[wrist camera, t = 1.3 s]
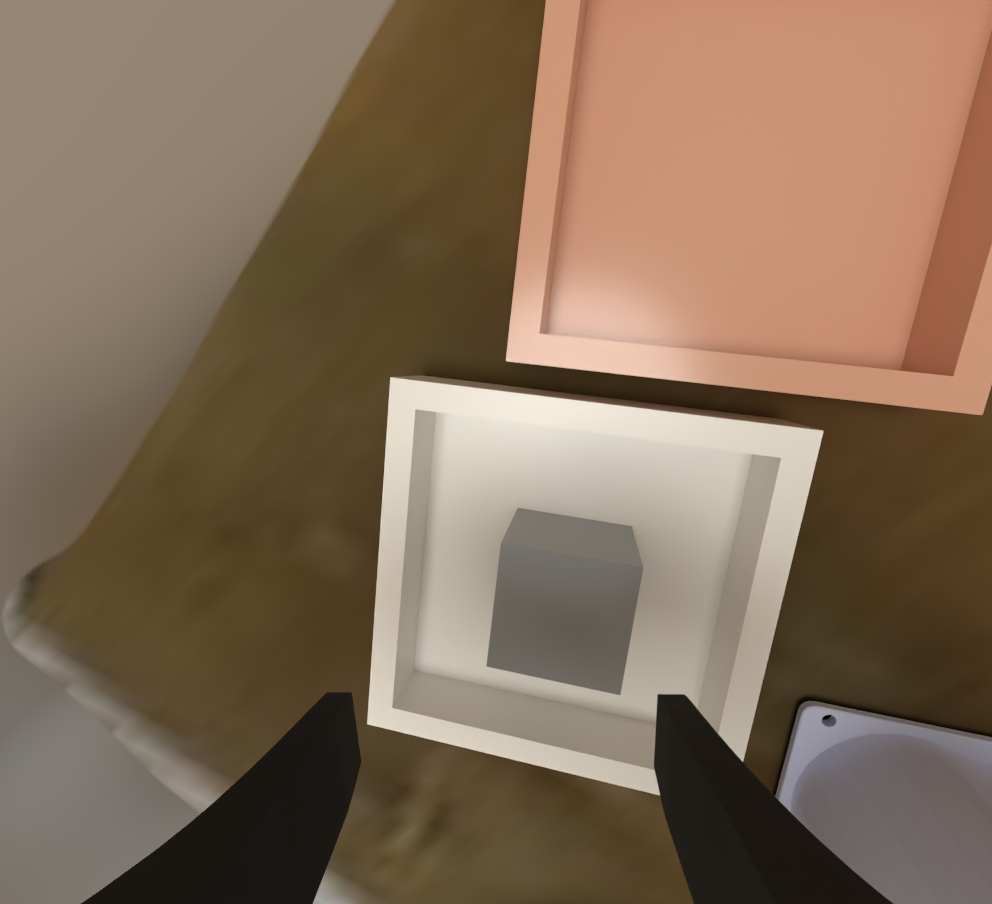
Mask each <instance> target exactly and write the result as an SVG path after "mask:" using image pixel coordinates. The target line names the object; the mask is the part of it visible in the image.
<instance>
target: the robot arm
mask: <svg viewBox="0 0 992 904" xmlns="http://www.w3.org/2000/svg"><path fill="white" fill-rule="evenodd" d="M826 715H831V717H830V718H829V719H827V720H822V718H823V717H824V716H826ZM360 764H361V757H360V750H359V743H358V735H357V728H356V721H355V714H354V706H353V699H352V693H326V694H325V695H324V696H323V697H322V698H321V699H320V700H319V701H318V702H317V703H316V704H315V705H314V706H313V707H312V708H311V709H310V710H309V711H308V712H307V713H306V714H305V715H304V716H303V717H302V718H301V719H300V720H299V721H298V722H297V723H296V724H295V725H294V726H293V727H292V728H291V729H290V730H289V731H288V732H287V733H286V734H285V735H284V736H283V737H282V738H281V739H280V741H278V742H277V743H276V744H275V745H274V746H273V747H272V748H271V749H270V750H269V751H268V752H267V753H266V754H265V755H264V756H263V757H262V758H261V759H260V760H259V761H258V762H257V763H256V764H255V765H254V766H253V767H252V768H251V769H250V770H249V771H248V772H247V773H246V774H245V775H243V776H242V777H241V778H240V779H239V780H238V781H237V782H236V783H235V784H234V785H233V786H231V787H230V788H229V789H228V790H227V791H226V792H225V793H224V794H223V795H222V796H221V797H219V798H218V799H217V800H216V801H215V802H214V803H213V804H212V805H211V806H209V807H208V808H207V809H206V810H205V811H204V812H202V813H201V814H200V815H199V816H198V817H196V818H195V819H194V820H193V821H192V822H191V823H189V824H188V825H187V826H186V827H184V828H183V829H182V830H181V831H179V832H178V833H177V834H176V835H174V836H173V837H172V838H171V839H169V840H168V841H167V842H166V843H164V844H163V845H162V846H161V847H159V848H158V849H157V850H155V851H154V852H153V853H151V854H150V855H149V856H147V857H146V858H144V859H143V860H142V861H140V862H139V863H138V864H136V865H135V866H133V867H132V868H131V869H130V870H128V871H127V872H125V873H124V874H122V875H121V876H120V877H118V878H117V879H115V880H114V881H113V882H111V883H110V884H109V885H107V886H106V887H105V888H103V889H102V890H100V891H99V892H98V893H96V894H95V895H93V896H92V897H90V898H89V899H87V900H86V901H84V902H83V903H81V904H313V901H314V899H315V896H316V893H317V891H318V888H319V886H320V883H321V880H322V878H323V875H324V873H325V870H326V867H327V865H328V862H329V860H330V857H331V855H332V852H333V849H334V847H335V844H336V841H337V839H338V836H339V833H340V831H341V828H342V826H343V823H344V820H345V818H346V815H347V812H348V809H349V806H350V802H351V798H352V795H353V791H354V788H355V784H356V780H357V776H358V772H359V768H360ZM654 769H655V774H656V778H657V783H658V787H659V792H660V796H661V800H662V805H663V809H664V813H665V817H666V820H667V823H668V827H669V830H670V833H671V836H672V839H673V842H674V845H675V848H676V851H677V854H678V857H679V860H680V863H681V866H682V869H683V872H684V875H685V878H686V881H687V884H688V887H689V890H690V893H691V896H692V899H693V902H694V904H992V737H988V736H983V735H978V734H973V733H968V732H963V731H958V730H953V729H948V728H944V727H939V726H934V725H929V724H924V723H919V722H914V721H909V720H904V719H900V718H895V717H890V716H885V715H880V714H875V713H870V712H865V711H860V710H856V709H851V708H846V707H841V706H836V705H831V704H826V703H821V702H816V701H807V702H804V703H803V704H801V705H800V707H799V709H798V712H797V715H796V719H795V723H794V727H793V731H792V735H791V738H790V742H789V746H788V750H787V754H786V757H785V761H784V765H783V769H782V773H781V776H780V780H779V784H778V788H777V792H776V795H775V796H774V795H773V794H772V793H771V792H770V791H769V790H768V789H767V788H766V787H765V786H764V785H763V783H762V782H761V781H760V780H759V779H758V778H757V777H756V776H755V775H754V774H753V773H752V771H751V770H750V769H749V768H748V767H747V766H746V765H745V764H744V763H743V762H742V761H741V759H740V758H739V757H738V756H737V755H736V754H735V753H734V752H733V750H732V749H731V748H730V747H729V746H728V745H727V744H726V742H725V741H724V740H723V739H722V738H721V737H720V735H719V734H718V733H717V732H716V731H715V730H714V728H713V727H712V726H711V725H710V724H709V722H708V721H707V720H706V719H705V718H704V716H703V715H702V714H701V713H700V711H699V710H698V709H697V708H696V707H695V705H694V704H693V703H692V702H691V700H690V699H689V698H688V697H687V696H686V695H685V694H658V695H657V714H656V733H655V752H654Z"/></svg>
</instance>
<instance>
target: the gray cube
mask: <svg viewBox="0 0 992 904" xmlns="http://www.w3.org/2000/svg"><path fill="white" fill-rule="evenodd" d="M642 572H643V564H642V561H641V557H640V554H639V550H638V547H637V543H636V540H635V536H634V532H633V529H632V526H627V525H621V524H615V523H608V522H602V521H596V520H590V519H584V518H577V517H571V516H565V515H559V514H553V513H546V512H540V511H534V510H528V509H522V508H518V509H517V511H516V513H515V515H514V517H513V519H512V521H511V523H510V525H509V527H508V529H507V531H506V533H505V535H504V538H503V540H502V542H501V546H500V555H499V563H498V572H497V580H496V589H495V597H494V606H493V614H492V622H491V631H490V639H489V648H488V656H487V665H486V667H491V668H495V669H500V670H505V671H509V672H514V673H519V674H523V675H528V676H533V677H537V678H542V679H547V680H551V681H556V682H560V683H565V684H570V685H574V686H579V687H584V688H588V689H593V690H598V691H602V692H607V693H612V694H616V695H620V694H621V689H622V683H623V678H624V672H625V667H626V661H627V656H628V650H629V644H630V639H631V633H632V628H633V622H634V617H635V611H636V606H637V600H638V595H639V589H640V583H641V578H642Z"/></svg>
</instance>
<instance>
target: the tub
mask: <svg viewBox="0 0 992 904" xmlns="http://www.w3.org/2000/svg"><path fill="white" fill-rule="evenodd" d="M822 435H823V430H819V429H815V428H812V427H808V426H804V425H801V424H797V423H793V422H790V421H786V420H783V419H778V418H770V417H762V416H753V415H745V414H737V413H729V412H721V411H712V410H704V409H696V408H688V407H679V406H671V405H663V404H655V403H646V402H638V401H630V400H622V399H613V398H605V397H597V396H589V395H580V394H572V393H564V392H556V391H547V390H539V389H531V388H523V387H515V386H506V385H498V384H490V383H482V382H473V381H465V380H457V379H449V378H440V377H432V376H424V375H421V376H404V377H390V392H389V407H388V422H387V437H386V451H385V466H384V481H383V496H382V511H381V526H380V541H379V556H378V571H377V586H376V601H375V616H374V631H373V646H372V661H371V676H370V691H369V706H368V721H367V724H369V725H373V726H377V727H382V728H386V729H390V730H394V731H398V732H402V733H406V734H410V735H414V736H418V737H423V738H427V739H431V740H435V741H439V742H443V743H447V744H451V745H455V746H459V747H464V748H468V749H472V750H476V751H480V752H484V753H488V754H492V755H496V756H500V757H505V758H509V759H513V760H517V761H521V762H525V763H529V764H533V765H537V766H541V767H546V768H550V769H554V770H558V771H562V772H566V773H570V774H574V775H578V776H582V777H587V778H591V779H595V780H599V781H603V782H607V783H611V784H615V785H619V786H623V787H627V788H632V789H636V790H640V791H644V792H648V793H652V794H656V795H660V792H659V787H658V783H657V778H656V774H655V769H654V752H655V733H656V714H657V695H658V694H685V695H686V696H687V697H688V698H689V699H690V700H691V702H692V703H693V704H694V705H695V707H696V708H697V709H698V710H699V711H700V713H701V714H702V715H703V716H704V718H705V719H706V720H707V721H708V722H709V724H710V725H711V726H712V727H713V728H714V730H715V731H716V732H717V733H718V734H719V735H720V737H721V738H722V739H723V740H724V741H725V742H726V744H727V745H728V746H729V747H730V748H731V749H732V750H733V752H734V753H735V754H736V755H737V756H738V757H739V758H740V759H741V761H742V762H743V760H744V756H745V752H746V748H747V744H748V740H749V736H750V731H751V727H752V723H753V719H754V715H755V711H756V707H757V703H758V699H759V694H760V690H761V686H762V682H763V678H764V674H765V670H766V666H767V662H768V657H769V653H770V649H771V645H772V641H773V637H774V633H775V629H776V625H777V620H778V616H779V612H780V608H781V604H782V600H783V596H784V592H785V588H786V583H787V579H788V575H789V571H790V567H791V563H792V559H793V555H794V551H795V546H796V542H797V538H798V534H799V530H800V526H801V522H802V518H803V514H804V509H805V505H806V501H807V497H808V493H809V489H810V485H811V481H812V477H813V472H814V468H815V464H816V460H817V456H818V452H819V448H820V444H821V439H822ZM518 508H522V509H528V510H534V511H540V512H546V513H553V514H559V515H565V516H571V517H577V518H584V519H590V520H596V521H602V522H608V523H615V524H621V525H627V526H632V529H633V532H634V536H635V540H636V543H637V547H638V550H639V554H640V557H641V561H642V564H643V572H642V578H641V583H640V589H639V595H638V600H637V606H636V611H635V617H634V622H633V628H632V633H631V639H630V644H629V650H628V656H627V661H626V667H625V672H624V678H623V683H622V689H621V694H620V695H616V694H612V693H607V692H602V691H598V690H593V689H588V688H584V687H579V686H574V685H570V684H565V683H560V682H556V681H551V680H547V679H542V678H537V677H533V676H528V675H523V674H519V673H514V672H509V671H505V670H500V669H495V668H491V667H486V665H487V656H488V648H489V639H490V631H491V622H492V614H493V606H494V597H495V589H496V580H497V572H498V563H499V555H500V546H501V542H502V540H503V538H504V535H505V533H506V531H507V529H508V527H509V525H510V523H511V521H512V519H513V517H514V515H515V513H516V511H517V509H518Z"/></svg>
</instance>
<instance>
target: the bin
mask: <svg viewBox="0 0 992 904" xmlns="http://www.w3.org/2000/svg"><path fill="white" fill-rule="evenodd" d="M506 361H509V362H518V363H526V364H535V365H544V366H553V367H562V368H570V369H579V370H588V371H597V372H606V373H615V374H623V375H632V376H641V377H650V378H659V379H667V380H676V381H685V382H694V383H703V384H712V385H720V386H729V387H738V388H747V389H756V390H764V391H773V392H782V393H791V394H800V395H809V396H817V397H826V398H835V399H844V400H853V401H861V402H870V403H879V404H888V405H897V406H906V407H914V408H923V409H932V410H941V411H950V412H959V413H967V414H976V415H983V411H984V408H985V405H986V402H987V398H988V395H989V392H990V389H991V385H992V0H546V5H545V14H544V23H543V32H542V41H541V50H540V59H539V68H538V77H537V86H536V94H535V103H534V112H533V121H532V130H531V139H530V148H529V157H528V166H527V175H526V184H525V193H524V202H523V211H522V220H521V229H520V238H519V247H518V256H517V265H516V274H515V283H514V291H513V300H512V309H511V318H510V327H509V336H508V345H507V354H506Z"/></svg>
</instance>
